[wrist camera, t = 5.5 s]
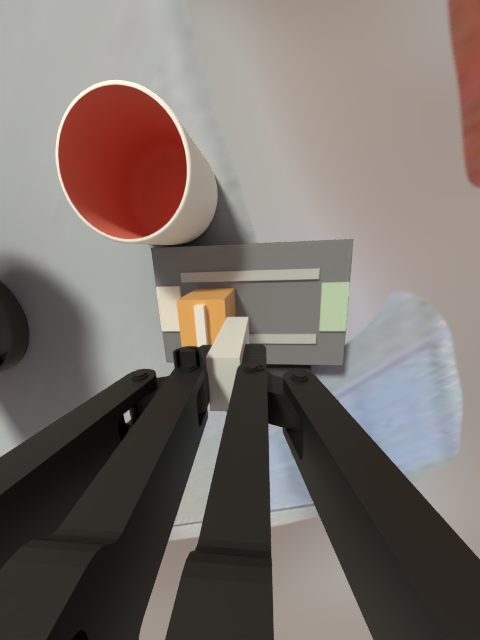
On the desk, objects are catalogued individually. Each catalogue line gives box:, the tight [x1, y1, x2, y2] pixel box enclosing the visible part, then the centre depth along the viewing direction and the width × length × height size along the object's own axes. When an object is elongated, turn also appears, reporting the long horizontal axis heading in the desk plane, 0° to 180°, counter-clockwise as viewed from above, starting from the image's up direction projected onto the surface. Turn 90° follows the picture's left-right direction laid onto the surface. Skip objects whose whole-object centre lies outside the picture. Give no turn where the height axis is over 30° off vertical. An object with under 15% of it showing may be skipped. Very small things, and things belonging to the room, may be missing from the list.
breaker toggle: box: [176, 288, 236, 347], centre depth 23 cm, size 4×4×7 cm
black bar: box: [267, 364, 311, 377], centre depth 30 cm, size 16×1×1 cm, turn 92°
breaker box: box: [151, 239, 353, 365], centre depth 27 cm, size 20×13×3 cm, turn 92°
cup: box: [56, 80, 218, 245], centre depth 22 cm, size 10×10×10 cm
